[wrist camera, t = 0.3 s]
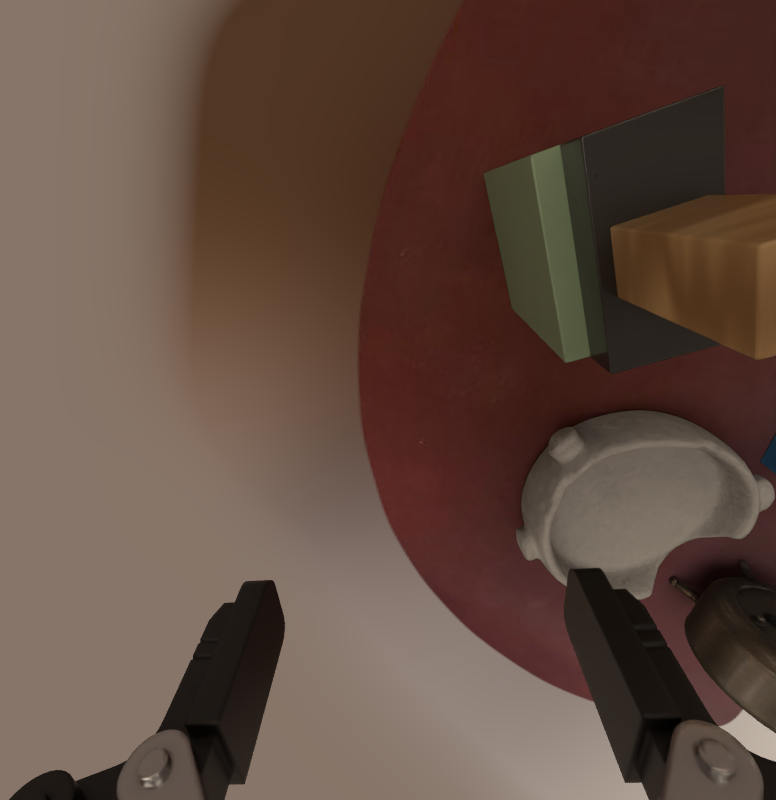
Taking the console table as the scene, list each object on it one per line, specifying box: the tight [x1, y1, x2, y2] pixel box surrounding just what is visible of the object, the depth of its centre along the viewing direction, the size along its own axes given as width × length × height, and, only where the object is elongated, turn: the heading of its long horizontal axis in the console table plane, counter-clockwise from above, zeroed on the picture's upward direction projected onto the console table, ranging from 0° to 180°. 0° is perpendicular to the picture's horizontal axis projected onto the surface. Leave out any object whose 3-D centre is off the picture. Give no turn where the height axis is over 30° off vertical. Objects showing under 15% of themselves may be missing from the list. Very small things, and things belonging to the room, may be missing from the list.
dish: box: [516, 410, 775, 600], centre depth 30 cm, size 14×14×5 cm
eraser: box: [560, 86, 776, 374], centre depth 12 cm, size 8×4×8 cm, turn 18°
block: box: [484, 144, 590, 363], centre depth 20 cm, size 8×6×10 cm
